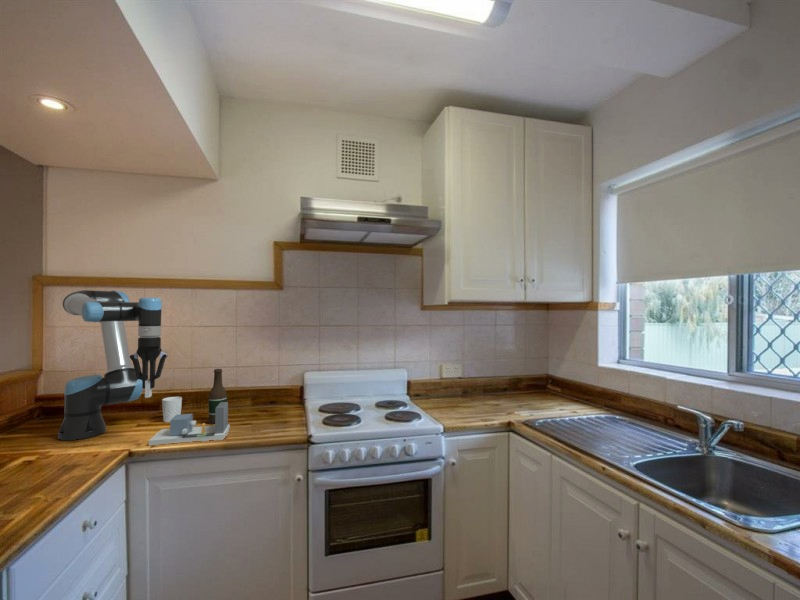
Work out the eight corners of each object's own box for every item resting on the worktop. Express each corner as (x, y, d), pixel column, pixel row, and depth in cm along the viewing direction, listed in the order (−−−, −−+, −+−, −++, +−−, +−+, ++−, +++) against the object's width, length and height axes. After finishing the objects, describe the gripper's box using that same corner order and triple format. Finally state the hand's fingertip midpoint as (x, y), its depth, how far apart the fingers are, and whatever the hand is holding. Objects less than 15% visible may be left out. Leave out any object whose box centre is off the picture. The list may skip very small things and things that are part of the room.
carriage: (167, 438, 145) (167, 422, 145) (176, 429, 156) (176, 414, 156) (190, 436, 147) (191, 420, 147) (197, 427, 158) (198, 413, 158)
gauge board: (148, 446, 143) (148, 413, 144) (161, 434, 157) (161, 404, 157) (223, 439, 150) (224, 409, 150) (229, 428, 164) (230, 400, 164)
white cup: (166, 423, 171) (166, 401, 171) (159, 420, 176) (159, 398, 176) (184, 419, 177) (185, 398, 178) (177, 416, 182) (177, 395, 182)
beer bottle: (205, 422, 173) (205, 369, 174) (222, 418, 179) (223, 367, 180) (212, 425, 168) (212, 371, 169) (229, 422, 174) (230, 369, 174)
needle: (201, 434, 148) (201, 424, 148) (202, 432, 150) (203, 423, 150) (203, 433, 149) (204, 424, 149) (205, 432, 151) (205, 423, 151)
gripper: (126, 337, 145) (125, 400, 145) (165, 337, 149) (163, 398, 148) (134, 336, 152) (133, 395, 152) (171, 335, 156) (169, 393, 156)
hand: (148, 396), depth 150 cm, fingers closed
